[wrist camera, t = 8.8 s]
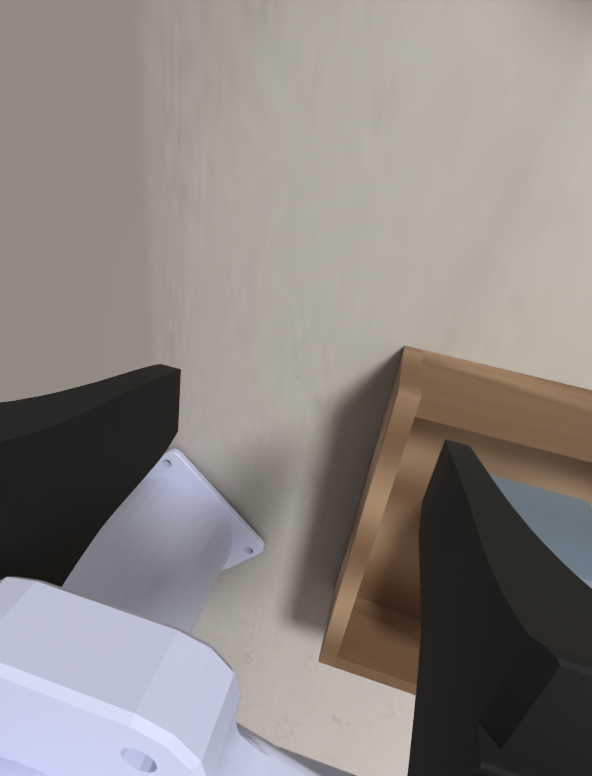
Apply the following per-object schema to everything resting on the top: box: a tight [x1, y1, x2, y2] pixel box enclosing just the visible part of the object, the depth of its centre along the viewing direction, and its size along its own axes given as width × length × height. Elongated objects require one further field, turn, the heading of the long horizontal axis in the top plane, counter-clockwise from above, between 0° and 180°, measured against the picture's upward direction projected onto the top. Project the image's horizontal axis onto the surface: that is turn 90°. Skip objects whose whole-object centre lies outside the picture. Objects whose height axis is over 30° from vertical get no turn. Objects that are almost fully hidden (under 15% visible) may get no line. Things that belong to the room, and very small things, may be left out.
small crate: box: [489, 474, 592, 588], centre depth 21 cm, size 7×5×5 cm
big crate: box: [318, 346, 592, 695], centre depth 22 cm, size 16×14×4 cm
